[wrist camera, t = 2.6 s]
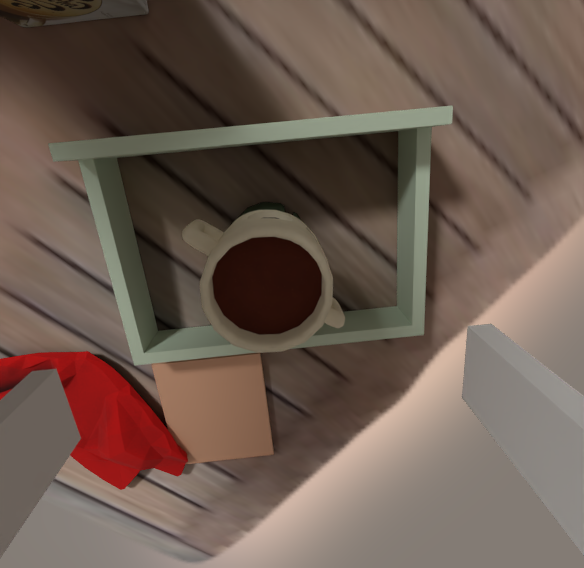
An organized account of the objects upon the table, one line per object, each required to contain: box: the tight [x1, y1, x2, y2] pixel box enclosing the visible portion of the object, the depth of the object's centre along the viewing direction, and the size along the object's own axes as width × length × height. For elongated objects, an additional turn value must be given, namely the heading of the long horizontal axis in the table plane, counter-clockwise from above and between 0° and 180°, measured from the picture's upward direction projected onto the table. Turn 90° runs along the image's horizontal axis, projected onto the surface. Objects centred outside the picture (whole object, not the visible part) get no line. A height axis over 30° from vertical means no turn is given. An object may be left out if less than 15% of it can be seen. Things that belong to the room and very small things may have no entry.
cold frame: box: [48, 106, 453, 365], centre depth 28 cm, size 24×17×7 cm
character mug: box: [182, 202, 345, 353], centre depth 25 cm, size 11×7×13 cm, turn 57°
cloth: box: [0, 351, 188, 490], centre depth 34 cm, size 26×14×2 cm, turn 54°
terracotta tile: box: [152, 353, 274, 464], centre depth 36 cm, size 10×12×1 cm
